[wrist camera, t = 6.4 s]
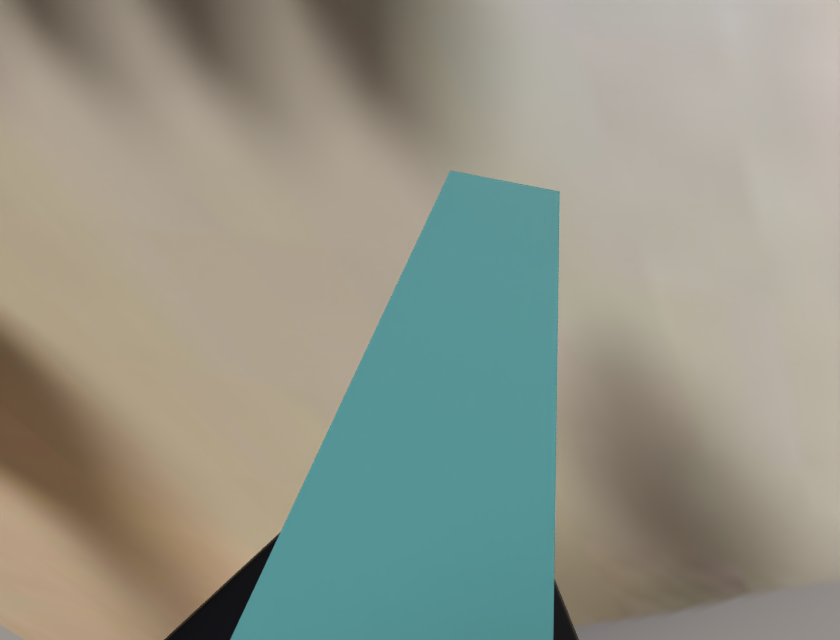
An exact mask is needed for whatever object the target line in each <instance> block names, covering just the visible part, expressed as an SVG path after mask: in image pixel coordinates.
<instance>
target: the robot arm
mask: <svg viewBox="0 0 840 640" xmlns="http://www.w3.org/2000/svg"><path fill="white" fill-rule="evenodd" d="M280 533H281V532H280ZM280 533H279V534H278V535H277V536H276V537H275V538H274V539H273V540H271V541H270V542H269V543H268V544H267V545H266V546H265V547H264V548H263V549H262V550H261V551H260V552H258V553H257V554H256V555H255V556H254V557H253V558H252V559H251V560H250V561H249V562H248V563H247V564H245V565H244V566H243V567H242V568H241V569H240V570H239V571H238V572H237V573H236V574H235V575H234V576H232V577H231V578H230V579H229V580H228V581H227V582H226V583H225V584H224V585H223V586H222V587H221V588H219V589H218V590H217V591H216V592H215V593H214V594H213V595H212V596H211V597H210V598H209V599H208V600H206V601H205V602H204V603H203V604H202V605H201V606H200V607H199V608H198V609H197V610H196V611H195V612H194V613H192V614H191V615H190V616H189V617H188V618H187V619H186V620H185V621H184V622H183V623H182V624H181V625H179V626H178V627H177V628H176V629H175V630H174V631H173V632H172V633H171V634H170V635H169V636H168V637H166V638H165V639H164V640H230V639H231V637H232V635H233V633H234V631H235V629H236V626H237V624H238V622H239V620H240V618H241V616H242V614H243V611H244V609H245V607H246V605H247V603H248V601H249V599H250V597H251V594H252V592H253V590H254V588H255V586H256V584H257V582H258V579H259V577H260V575H261V573H262V571H263V569H264V567H265V565H266V562H267V560H268V558H269V556H270V554H271V552H272V550H273V548H274V545H275V543H276V541H277V539H278V537H279V535H280ZM553 640H579V639H578V636H577V634H576V631H575V629H574V626H573V624H572V621H571V619H570V616H569V614H568V611H567V609H566V606H565V604H564V601H563V599H562V596H561V594H560V591H559V589H558V586H557V584H556V581H555V579H554V625H553Z"/></svg>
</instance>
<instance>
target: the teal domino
mask: <svg viewBox="0 0 840 640" xmlns="http://www.w3.org/2000/svg"><path fill="white" fill-rule="evenodd" d="M559 195H560V192H559V191H554V190H548V189H543V188H538V187H533V186H528V185H522V184H517V183H512V182H507V181H502V180H496V179H491V178H486V177H481V176H476V175H470V174H465V173H460V172H455V171H450V172H449V175H448V177H447V179H446V181H445V183H444V185H443V187H442V189H441V192H440V194H439V196H438V198H437V200H436V202H435V204H434V207H433V209H432V211H431V213H430V215H429V217H428V219H427V221H426V224H425V226H424V228H423V230H422V232H421V234H420V236H419V238H418V241H417V243H416V245H415V247H414V249H413V251H412V253H411V256H410V258H409V260H408V262H407V264H406V266H405V268H404V270H403V273H402V275H401V277H400V279H399V281H398V283H397V285H396V287H395V290H394V292H393V294H392V296H391V298H390V300H389V302H388V305H387V307H386V309H385V311H384V313H383V315H382V317H381V319H380V322H379V324H378V326H377V328H376V330H375V332H374V334H373V337H372V339H371V341H370V343H369V345H368V347H367V349H366V351H365V354H364V356H363V358H362V360H361V362H360V364H359V366H358V368H357V371H356V373H355V375H354V377H353V379H352V381H351V383H350V386H349V388H348V390H347V392H346V394H345V396H344V398H343V400H342V403H341V405H340V407H339V409H338V411H337V413H336V415H335V418H334V420H333V422H332V424H331V426H330V428H329V430H328V432H327V435H326V437H325V439H324V441H323V443H322V445H321V447H320V449H319V452H318V454H317V456H316V458H315V460H314V462H313V464H312V467H311V469H310V471H309V473H308V475H307V477H306V479H305V481H304V484H303V486H302V488H301V490H300V492H299V494H298V496H297V498H296V501H295V503H294V505H293V507H292V509H291V511H290V513H289V516H288V518H287V520H286V522H285V524H284V526H283V528H282V530H281V533H280V535H279V537H278V539H277V541H276V543H275V545H274V548H273V550H272V552H271V554H270V556H269V558H268V560H267V562H266V565H265V567H264V569H263V571H262V573H261V575H260V577H259V579H258V582H257V584H256V586H255V588H254V590H253V592H252V594H251V597H250V599H249V601H248V603H247V605H246V607H245V609H244V611H243V614H242V616H241V618H240V620H239V622H238V624H237V626H236V629H235V631H234V633H233V635H232V637H231V639H230V640H553V625H554V553H555V481H556V410H557V338H558V267H559Z"/></svg>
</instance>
